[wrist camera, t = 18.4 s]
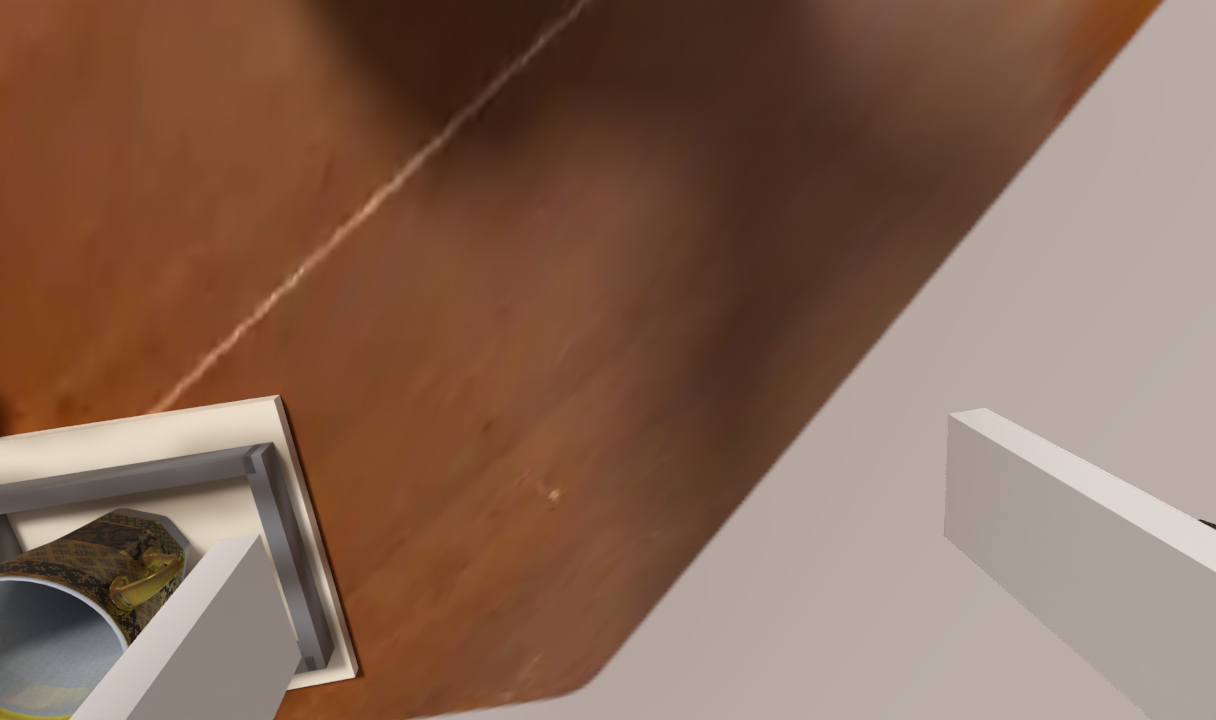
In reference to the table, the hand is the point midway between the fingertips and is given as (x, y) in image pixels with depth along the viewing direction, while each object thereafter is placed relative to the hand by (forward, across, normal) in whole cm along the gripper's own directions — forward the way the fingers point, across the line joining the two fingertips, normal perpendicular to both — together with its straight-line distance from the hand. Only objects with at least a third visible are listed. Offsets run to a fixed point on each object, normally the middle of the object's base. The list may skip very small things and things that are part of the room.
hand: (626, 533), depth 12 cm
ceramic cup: (+30, -29, -14) cm, 44 cm away
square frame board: (+31, -29, -16) cm, 46 cm away
